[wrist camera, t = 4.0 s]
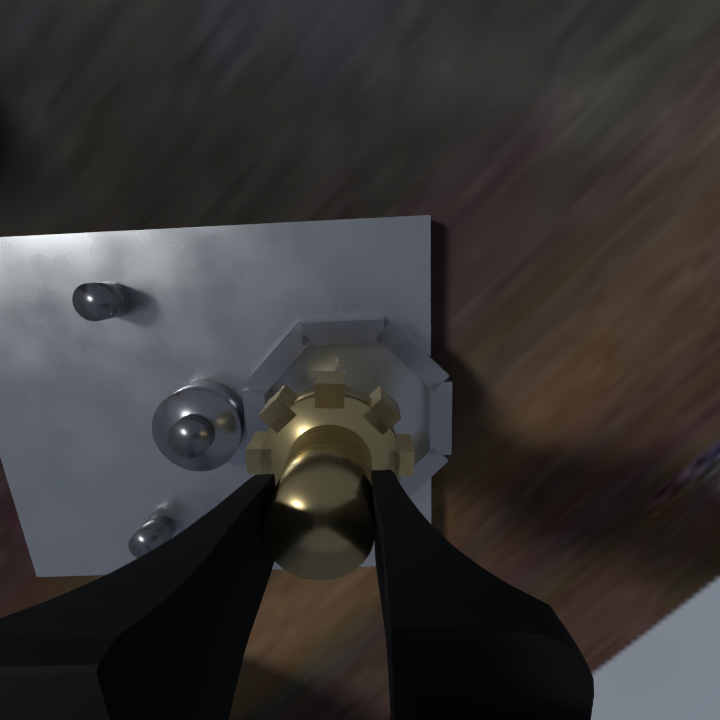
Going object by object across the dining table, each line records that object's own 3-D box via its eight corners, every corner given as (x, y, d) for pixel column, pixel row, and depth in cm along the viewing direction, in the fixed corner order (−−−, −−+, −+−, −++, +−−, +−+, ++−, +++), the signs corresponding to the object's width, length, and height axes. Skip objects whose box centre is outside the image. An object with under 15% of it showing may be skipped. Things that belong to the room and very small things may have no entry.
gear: (405, 510, 16) (424, 624, 11) (261, 508, 16) (215, 620, 11) (413, 372, 14) (438, 433, 9) (252, 369, 14) (194, 429, 9)
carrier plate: (441, 550, 22) (454, 599, 19) (51, 563, 22) (-2, 613, 19) (443, 217, 17) (461, 206, 14) (-43, 242, 18) (-131, 236, 15)
